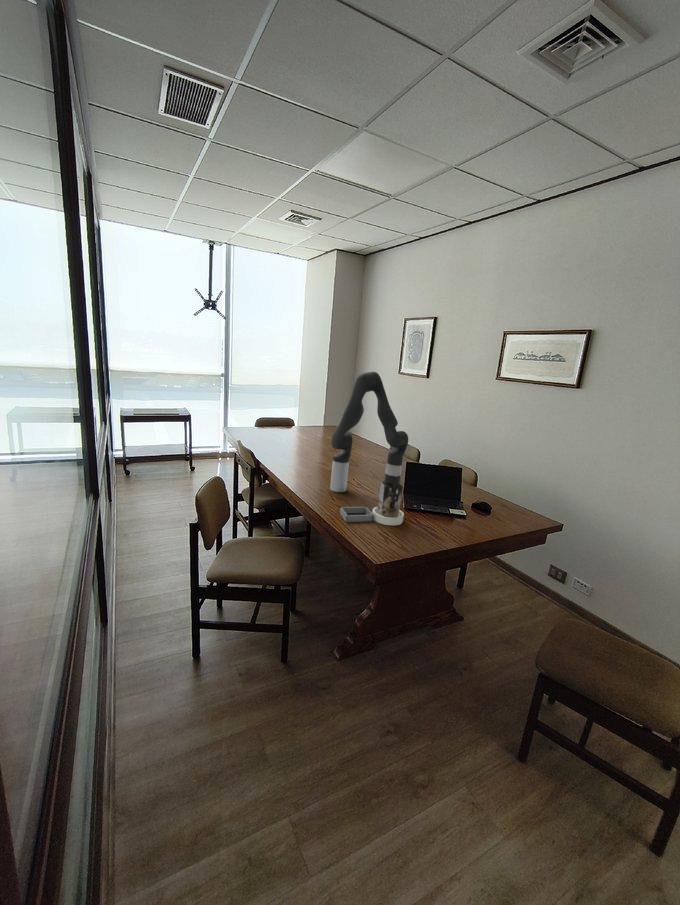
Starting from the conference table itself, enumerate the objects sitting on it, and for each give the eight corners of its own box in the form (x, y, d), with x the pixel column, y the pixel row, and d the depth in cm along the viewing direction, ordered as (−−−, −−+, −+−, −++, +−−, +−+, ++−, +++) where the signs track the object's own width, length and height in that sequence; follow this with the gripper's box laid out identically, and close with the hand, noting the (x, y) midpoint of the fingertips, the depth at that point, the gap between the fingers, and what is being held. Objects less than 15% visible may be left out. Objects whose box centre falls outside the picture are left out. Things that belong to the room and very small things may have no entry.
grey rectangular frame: (339, 512, 196) (340, 507, 195) (365, 512, 200) (366, 506, 199) (345, 522, 186) (346, 516, 186) (373, 521, 190) (373, 515, 189)
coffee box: (380, 517, 190) (384, 486, 186) (376, 512, 196) (380, 481, 192) (398, 517, 192) (403, 486, 188) (394, 512, 198) (398, 481, 195)
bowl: (367, 512, 199) (368, 506, 199) (395, 512, 204) (396, 505, 203) (378, 525, 186) (379, 518, 185) (407, 524, 190) (408, 518, 189)
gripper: (380, 468, 195) (376, 500, 199) (391, 477, 181) (387, 511, 185) (394, 468, 197) (390, 500, 201) (406, 477, 184) (402, 511, 188)
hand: (388, 505), depth 193 cm, fingers open, 6 cm apart
